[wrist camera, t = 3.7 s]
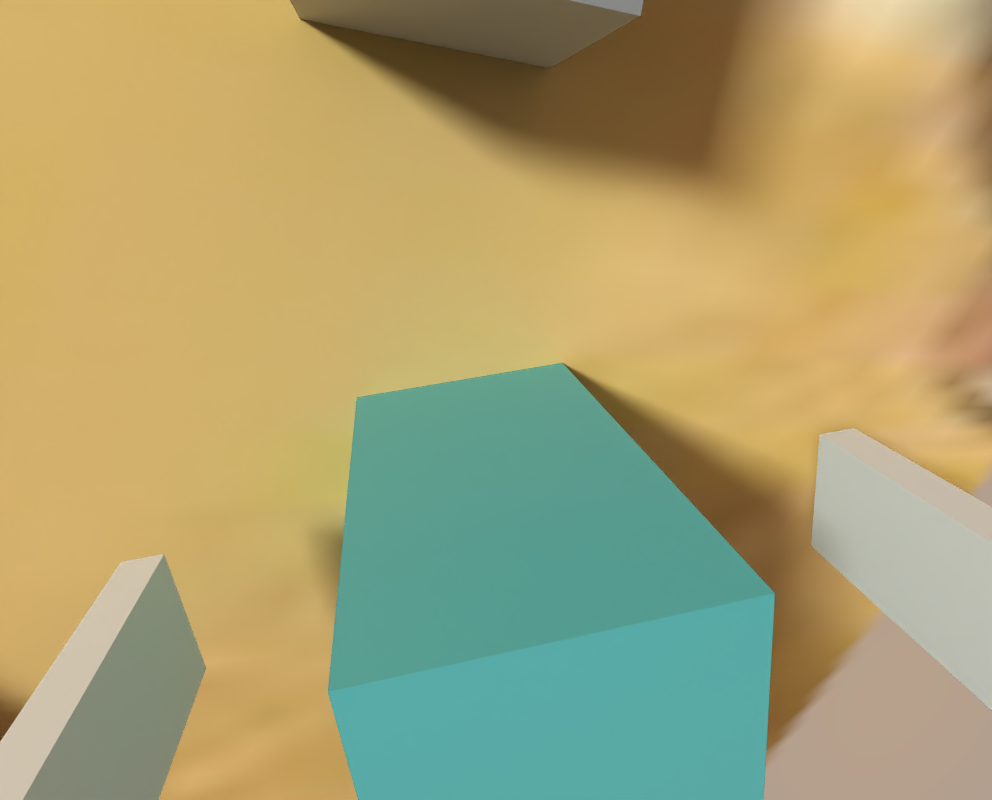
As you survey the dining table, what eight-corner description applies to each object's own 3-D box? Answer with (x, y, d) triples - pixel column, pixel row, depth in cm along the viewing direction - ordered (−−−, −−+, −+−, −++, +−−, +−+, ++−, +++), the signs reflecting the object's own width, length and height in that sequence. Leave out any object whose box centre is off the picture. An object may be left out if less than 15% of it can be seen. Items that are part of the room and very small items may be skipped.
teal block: (394, 572, 17) (407, 977, 8) (356, 397, 15) (328, 692, 7) (576, 536, 17) (759, 880, 9) (562, 362, 15) (775, 594, 7)
